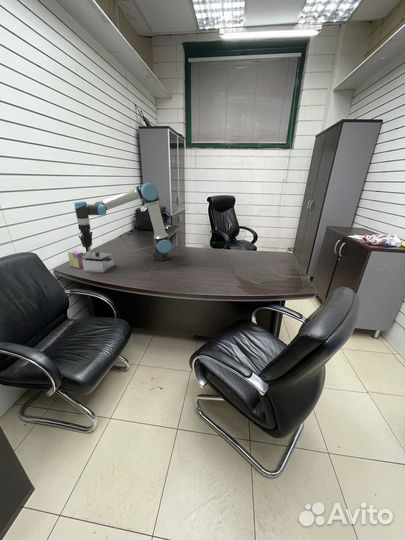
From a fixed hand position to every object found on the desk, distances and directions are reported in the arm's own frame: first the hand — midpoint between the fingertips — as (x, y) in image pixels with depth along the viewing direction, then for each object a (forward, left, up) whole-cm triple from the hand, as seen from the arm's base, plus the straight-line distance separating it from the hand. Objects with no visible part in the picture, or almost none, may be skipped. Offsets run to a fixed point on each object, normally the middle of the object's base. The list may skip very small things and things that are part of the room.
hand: (89, 255), depth 165 cm
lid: (-4, -4, -2) cm, 6 cm away
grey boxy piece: (-4, -4, -12) cm, 13 cm away
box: (+15, -5, -12) cm, 20 cm away
